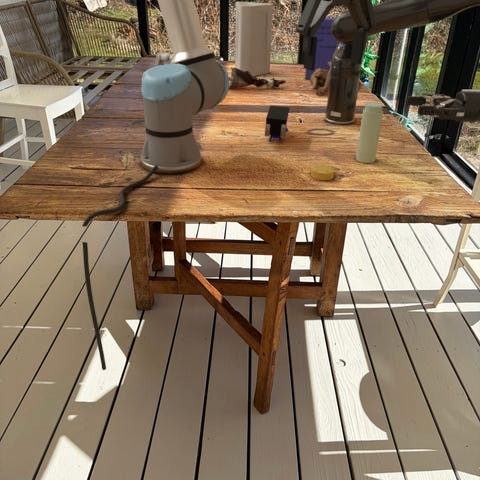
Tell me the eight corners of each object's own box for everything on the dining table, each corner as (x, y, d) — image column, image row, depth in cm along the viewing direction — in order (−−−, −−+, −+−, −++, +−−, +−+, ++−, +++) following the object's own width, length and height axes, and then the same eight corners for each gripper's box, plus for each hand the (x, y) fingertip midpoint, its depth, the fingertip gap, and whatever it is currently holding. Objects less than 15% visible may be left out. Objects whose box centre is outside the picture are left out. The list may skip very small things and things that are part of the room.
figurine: (210, 87, 179) (288, 95, 182) (212, 65, 176) (291, 73, 180) (208, 84, 201) (278, 91, 205) (210, 64, 198) (280, 71, 202)
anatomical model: (320, 97, 196) (320, 98, 182) (304, 82, 195) (303, 82, 181) (342, 73, 192) (344, 72, 177) (327, 57, 191) (327, 56, 177)
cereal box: (344, 77, 210) (352, 18, 198) (346, 80, 206) (353, 19, 194) (305, 76, 211) (309, 17, 199) (305, 79, 207) (310, 18, 195)
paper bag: (273, 76, 210) (276, 6, 196) (239, 77, 209) (240, 6, 194) (266, 67, 226) (268, 2, 212) (235, 67, 225) (235, 1, 210)
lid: (337, 179, 116) (338, 172, 115) (315, 181, 115) (316, 174, 114) (328, 170, 120) (329, 163, 119) (307, 172, 119) (308, 165, 118)
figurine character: (286, 149, 136) (289, 127, 148) (287, 124, 131) (290, 104, 143) (262, 148, 137) (267, 126, 149) (263, 123, 132) (268, 103, 144)
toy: (175, 75, 210) (174, 58, 206) (151, 64, 228) (150, 49, 224) (222, 69, 222) (222, 53, 218) (195, 59, 239) (195, 45, 236)
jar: (354, 161, 126) (362, 105, 118) (357, 155, 130) (366, 100, 122) (373, 164, 124) (382, 107, 117) (376, 157, 128) (385, 102, 121)
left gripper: (308, -48, 85) (298, 75, 96) (404, -47, 96) (386, 63, 107) (282, -49, 90) (276, 68, 101) (376, -47, 102) (362, 58, 113)
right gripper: (468, 84, 125) (406, 83, 124) (494, 99, 113) (426, 98, 112) (460, 113, 129) (400, 111, 128) (484, 130, 116) (419, 129, 116)
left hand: (333, 66), depth 104 cm, fingers open, 13 cm apart
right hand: (412, 105), depth 120 cm, fingers open, 8 cm apart
